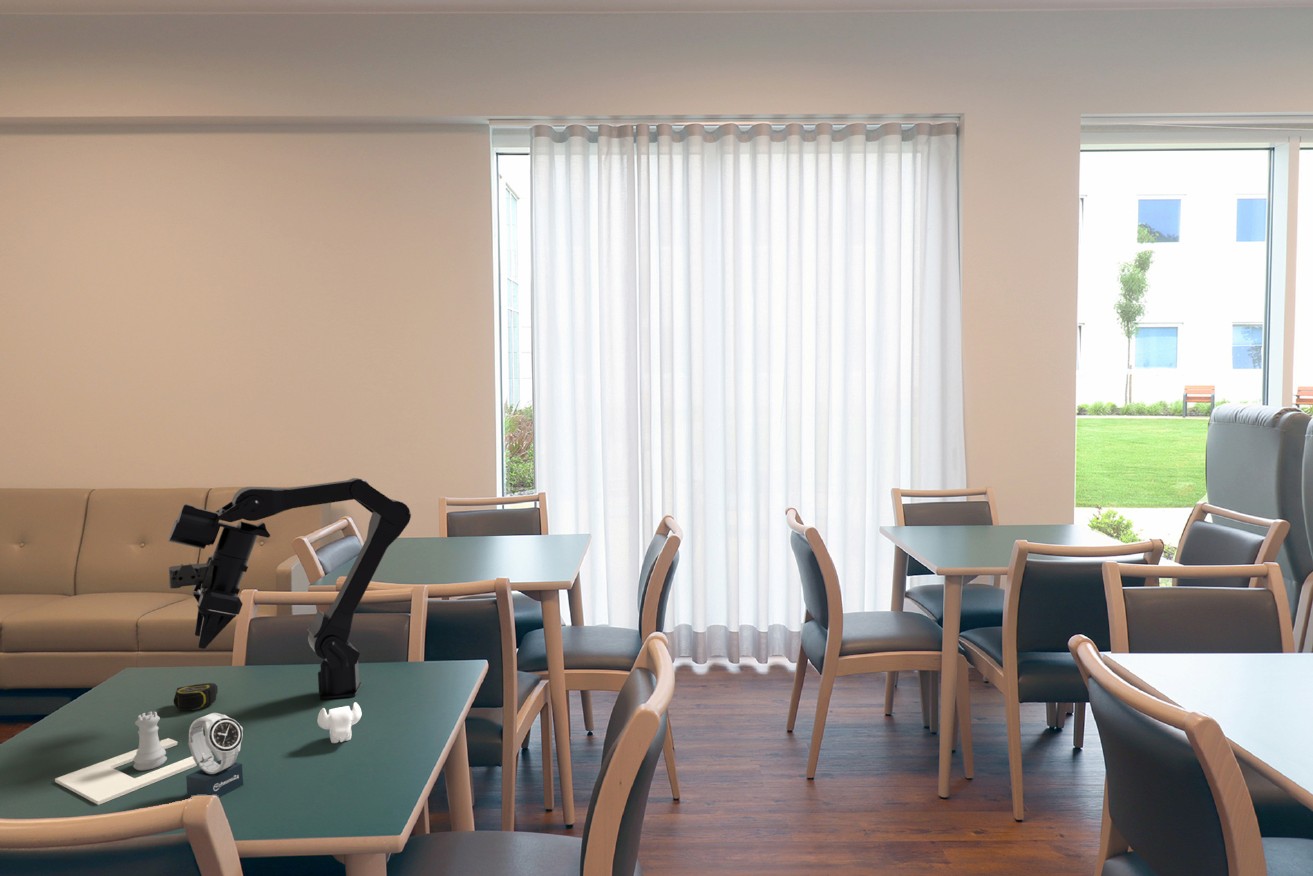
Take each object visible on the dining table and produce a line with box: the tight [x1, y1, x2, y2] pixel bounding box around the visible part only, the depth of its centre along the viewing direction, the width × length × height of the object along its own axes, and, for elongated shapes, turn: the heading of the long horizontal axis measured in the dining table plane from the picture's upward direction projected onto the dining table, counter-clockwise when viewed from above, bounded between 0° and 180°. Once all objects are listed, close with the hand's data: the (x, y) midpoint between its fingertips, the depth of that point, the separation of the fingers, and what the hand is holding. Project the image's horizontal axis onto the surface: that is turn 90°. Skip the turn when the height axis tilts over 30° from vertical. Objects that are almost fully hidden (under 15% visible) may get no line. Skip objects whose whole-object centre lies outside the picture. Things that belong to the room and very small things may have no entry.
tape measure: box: [173, 682, 219, 711], centre depth 146 cm, size 7×7×4 cm
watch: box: [185, 712, 244, 798], centre depth 112 cm, size 6×8×11 cm
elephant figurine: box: [317, 702, 363, 744], centre depth 128 cm, size 7×8×6 cm
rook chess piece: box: [133, 711, 168, 772], centre depth 121 cm, size 4×4×8 cm
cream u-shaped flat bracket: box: [54, 737, 215, 806], centre depth 120 cm, size 16×14×1 cm
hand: (199, 641), depth 137 cm, fingers open, 9 cm apart
